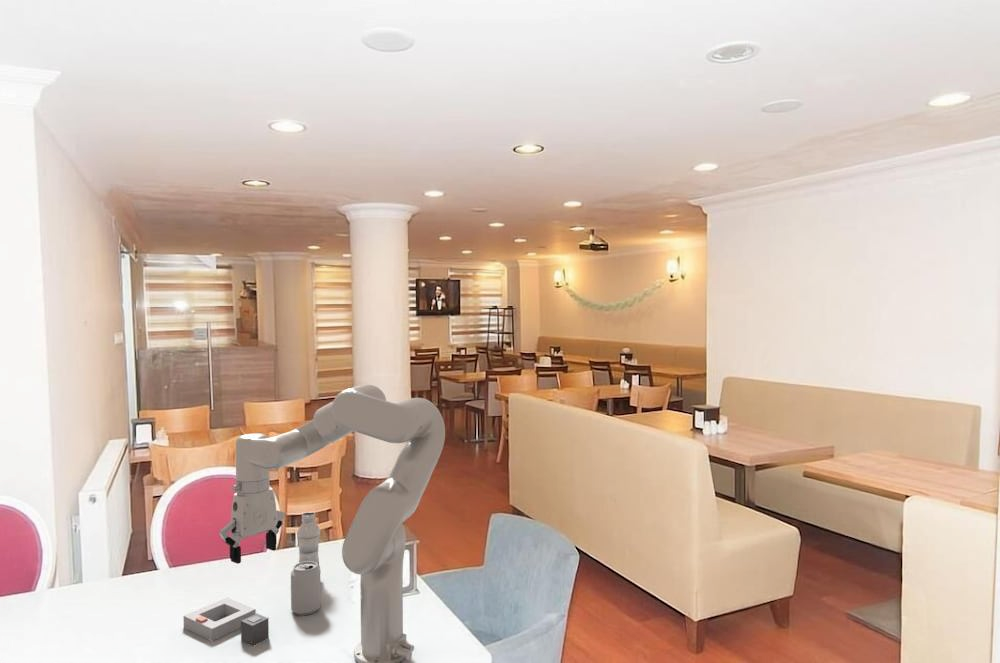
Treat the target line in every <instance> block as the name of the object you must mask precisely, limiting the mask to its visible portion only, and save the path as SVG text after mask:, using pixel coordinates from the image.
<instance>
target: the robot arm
mask: <svg viewBox="0 0 1000 663" xmlns="http://www.w3.org/2000/svg"><path fill="white" fill-rule="evenodd" d="M386 397H387V396H386V395H385V393H384V392H383V390H382V389H380V387H378V386H376V385H372V384H362V385H358V386H354V387H350V388H347V389H344V390H342V391H340V392H339V393H338V394H337V395H336V396H335V398H334V399H333V401H331V402H329V403H328V404H325V405H323V406H322V407H320V408H318V409H317V410H316V411H315V412H314V415H313V418H312V419H311V420H310V421H308V422H306V423H304V424H302V425H300V426H299V427H296V428H295V429H292V430H290V431H288V432H283V433H281V434H278V435H276V436H271V437H268V436H267V435H266V434H264V433H247V434H242V435H240V436H238V437H237V439H236V441H235V479H236V480H235V484H234V485H232V486H231V490H232V492H236V493H234V494H233V497H232V498H233V499H232V504H231V510H230V511H231V512H230V521H229V522H228V523H227V524H226V525H225V526H223V527H222V528H221V529H220V530H219V531H218V535H219V536H220V538H221V539H222V542H224V543H225V544H227V546H229V559H230V562H232V563H234V564H240V563H241V562H242V548H241V546H240V543H241V542H242V540H243V539H245V538H250V537H254V536H257V535H259V534H262V533H266V534H265V548H266V549H267V550H270V551H274V552H275V551H277V542H278V541H277V535H278V534H279V532H280V528H281V527H282V526H283V521H284V519H285V516H286V513H285V512H283V511H280V510H277V502H276V497H275V494H274V489H273V487H270V485H271V484H270V471H275V470H279V469H281V468H284V467H287V466H289V465H291V464H293V463H294V464H295V463H296V462H297V463H298V462H299V461H301V460H303V459H305V458H307V457H309V456H311V455H313V454H314V453H317V452H318V451H320V450H323V449H324V448H325V447H327V446H329V445H331V444H334V443H335V442H337V441H339V440H341V439H343V438H344V437H346V436H348V435H349V434H351V433H353V432H357V433H358V434H362V435H364V436H367V437H370V438H374V439H376V440H379V441H383V442H386V443H389V444H390V443H391V444H404V443H405V445H404V446H403V448H402V450H401V451H400V453H399V455H398V456H397V458H396V461H395V464H394V466H393V468H392V469H391V471H390V473H389V476H388V477H387V478H386V479H385V481H383V482H381V483H380V484H378V485H377V486H376V487H374V488H373V489H371V490H370V491H369V492H368V493H367V494H366V496H365V497H363V500H362V501H361V503H360V506H359V507H358V510H357V511H356V514H355V515H354V519H353V520H352V522H351V524H350V526H349V529H348V530H347V532H346V536H345V538H344V540H343V542H342V548H341V555H342V556H341V557H342V560H343V563H344V565H345V567H346V568H347V570H348V571H350V572H351V573H353V574H356V575H360V642H358V644H356V646H355V648H354V650H353V657H354V660H355V661H356V662H357V663H401V662H403V661H404V660H406V661H407V660H408V661H409V660H410V659H411V658H412V655H413V652H414V650H415V645H414V644H411V643H409V641H408V640H407V634H406V633H404V622H403V621H404V618H403V617H404V616H403V615H404V614H403V612H404V611H403V608H404V607H403V606H404V605H403V604H404V603H403V600H404V597H403V593H404V591H403V590H404V589H403V586H404V585H403V584H404V583H403V581H404V579H403V576H404V572H403V570H404V558H405V549H406V541H407V540H406V538H407V537H406V530H405V527H404V525H403V522H405V521H406V520H407V519H408V518H410V517H411V516H412V515H413V514H414V513H415V511H416V510H417V508H418V506H419V504H420V501H421V499H422V497H423V494H424V493H425V490H426V488H427V486H428V483H429V482H430V479H431V476H432V474H433V472H434V470H435V468H436V465H437V464H438V462H439V459H440V456H441V454H442V451H443V449H444V445H445V440H446V426H445V425H446V424H445V422H444V418H443V416H442V414H441V412H440V410H439V408H438V407H437V406H436V405H435V404H434V403H433V402H431V401H430V400H429V399H426V398H424V397H423V398H422V397H412V398H408V399H404V400H402V401H398V402H395V403H394V402H392V401H391V402H390V401H388V400H387V398H386ZM230 533H231V536H230V535H229V534H230Z"/></svg>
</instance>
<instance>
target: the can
mask: <svg viewBox="0 0 1000 663" xmlns="http://www.w3.org/2000/svg"><path fill="white" fill-rule="evenodd" d="M320 571H321V567H320V568H319V567H318V564H317V563H316V562H313V561H305V562H300V563H299V562H298V563H296V564H294V565H293V567H292V570H291V571H290V609H291V611H292V612H293V613H294V614H295V615H298V616H309V615H311V614H314V613H315V612H318V609H319V608H320V607H321V604H322V602H321V601H322V598H321V597H322V596H321V594H322V593H321V573H320Z"/></svg>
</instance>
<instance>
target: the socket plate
mask: <svg viewBox="0 0 1000 663" xmlns="http://www.w3.org/2000/svg"><path fill="white" fill-rule="evenodd" d="M256 612H257V610H256V608H254V607H252V606H248V605H246V604H243V603H241V602H239V601H236V600H234V599H231V598H229V597H225V598H223V599H221V600H218V601H216V602H214V603H211V604H209V605H206V606H204V607H201V608H199V609H196V610H194V611H192V612H189V613H187V614H185V615H183V628H184V629H185V630H187V631H190V632H192V633H194V634H196V635H198V636H199V637H200V636H201V637H202V638H204V639H207V640H209V641H211V642H214V641H215V640H219V638H222V637H224V636H227V635H228V634H230V633H232V632H233V633H234V632H235V631H237V630H239V629H241V621H242V620H244V619H246V618H248V617H250V616H253V615H255V614H257V613H256ZM223 616H225V617H223ZM220 617H223V618H221V619H219V618H220ZM217 619H218V620H217ZM214 620H216V621H214Z"/></svg>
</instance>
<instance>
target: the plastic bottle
mask: <svg viewBox="0 0 1000 663" xmlns="http://www.w3.org/2000/svg"><path fill="white" fill-rule="evenodd" d="M296 535H297V542H298V550H299V551H298V556H299V558H298V563H300V562H305V561H313V562H316V563H317V564H318V567H319V568H320V569H321V566H320V558H319V544H320V538H321V537H320V536H321V529H320V527H319V525H318V524H317V523H316V513H315V512H312V511H311V512H310V511H308V512H304V513H302V514H301V524H300V526H299V527H298V530H297V533H296ZM321 572H322V571H321V570H320V574H321Z"/></svg>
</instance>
